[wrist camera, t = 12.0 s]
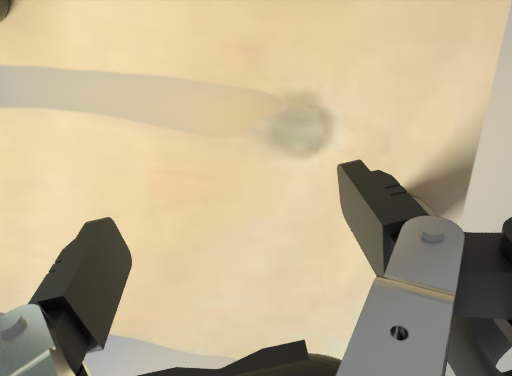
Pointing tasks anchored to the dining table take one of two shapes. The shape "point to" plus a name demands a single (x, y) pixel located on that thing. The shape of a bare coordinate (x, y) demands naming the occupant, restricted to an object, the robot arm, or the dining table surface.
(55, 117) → the dining table surface
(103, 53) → the dining table surface
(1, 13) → the supplement bottle
